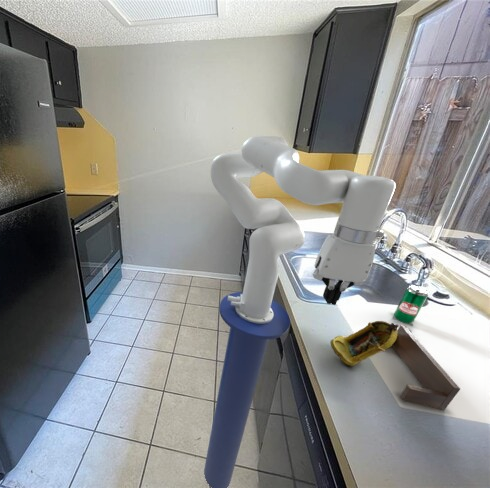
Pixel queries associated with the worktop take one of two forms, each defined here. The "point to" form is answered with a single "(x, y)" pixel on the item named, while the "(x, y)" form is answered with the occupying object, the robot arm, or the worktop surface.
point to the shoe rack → (424, 373)
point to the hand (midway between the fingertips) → (329, 301)
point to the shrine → (365, 342)
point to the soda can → (410, 304)
